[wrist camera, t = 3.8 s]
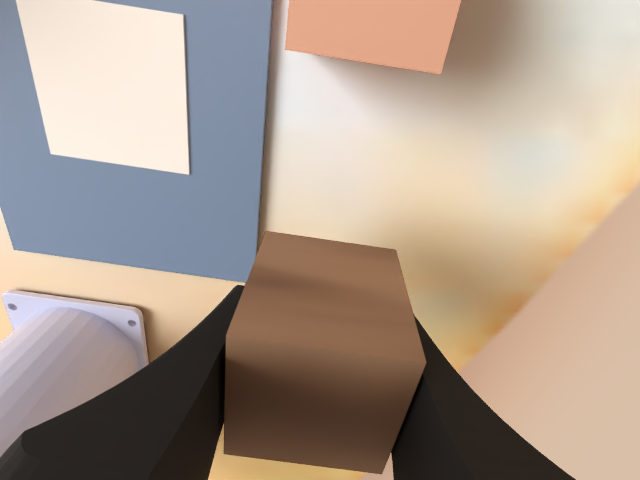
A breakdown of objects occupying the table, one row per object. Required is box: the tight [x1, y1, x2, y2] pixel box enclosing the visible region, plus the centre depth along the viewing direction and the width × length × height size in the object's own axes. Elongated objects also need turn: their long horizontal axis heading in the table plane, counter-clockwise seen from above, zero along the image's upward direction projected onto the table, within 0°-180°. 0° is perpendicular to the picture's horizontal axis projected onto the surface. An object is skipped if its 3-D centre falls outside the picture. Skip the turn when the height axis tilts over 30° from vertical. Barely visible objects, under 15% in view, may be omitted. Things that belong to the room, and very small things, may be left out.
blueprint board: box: [0, 0, 273, 283], centre depth 16 cm, size 18×13×1 cm
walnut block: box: [224, 231, 426, 474], centre depth 11 cm, size 4×4×5 cm
